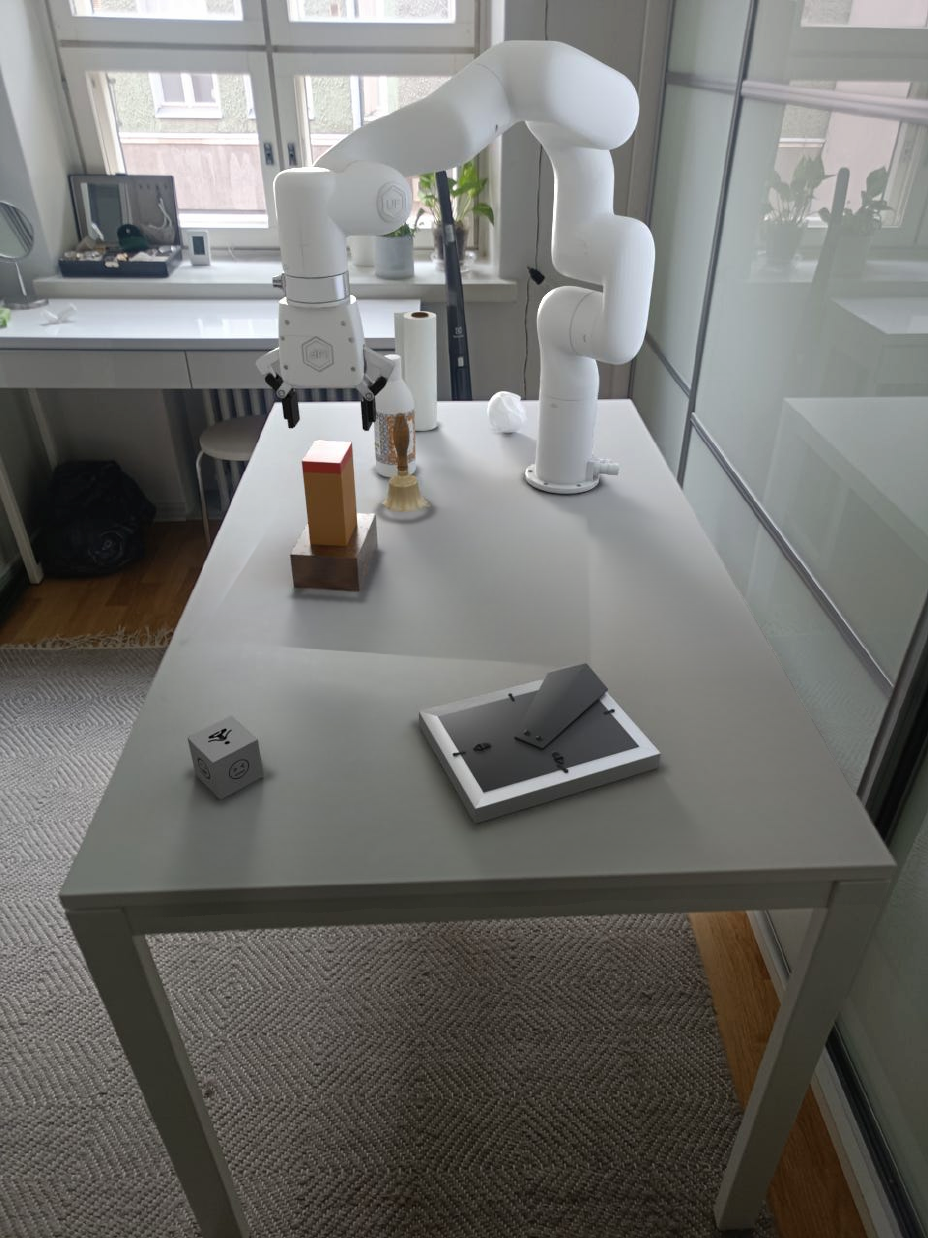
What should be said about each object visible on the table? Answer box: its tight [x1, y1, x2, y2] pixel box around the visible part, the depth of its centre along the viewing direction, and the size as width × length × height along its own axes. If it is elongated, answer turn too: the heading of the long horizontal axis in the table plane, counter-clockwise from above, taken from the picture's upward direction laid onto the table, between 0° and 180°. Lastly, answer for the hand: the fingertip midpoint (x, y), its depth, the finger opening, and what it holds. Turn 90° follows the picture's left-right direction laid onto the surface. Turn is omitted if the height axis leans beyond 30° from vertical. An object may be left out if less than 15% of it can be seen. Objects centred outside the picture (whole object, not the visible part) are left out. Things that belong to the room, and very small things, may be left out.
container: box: [301, 439, 358, 546], centre depth 116 cm, size 11×7×13 cm
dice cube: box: [187, 714, 265, 801], centre depth 88 cm, size 5×5×5 cm
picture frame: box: [418, 662, 662, 825], centre depth 93 cm, size 16×3×21 cm
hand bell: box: [381, 413, 431, 513], centre depth 136 cm, size 8×8×16 cm
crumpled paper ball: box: [486, 390, 528, 434], centre depth 167 cm, size 8×8×8 cm
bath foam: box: [373, 354, 417, 479], centre depth 147 cm, size 7×7×20 cm
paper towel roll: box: [393, 310, 438, 432], centre depth 165 cm, size 7×6×21 cm
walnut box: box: [289, 512, 379, 593], centre depth 122 cm, size 9×13×6 cm
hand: (331, 425), depth 112 cm, fingers open, 9 cm apart
